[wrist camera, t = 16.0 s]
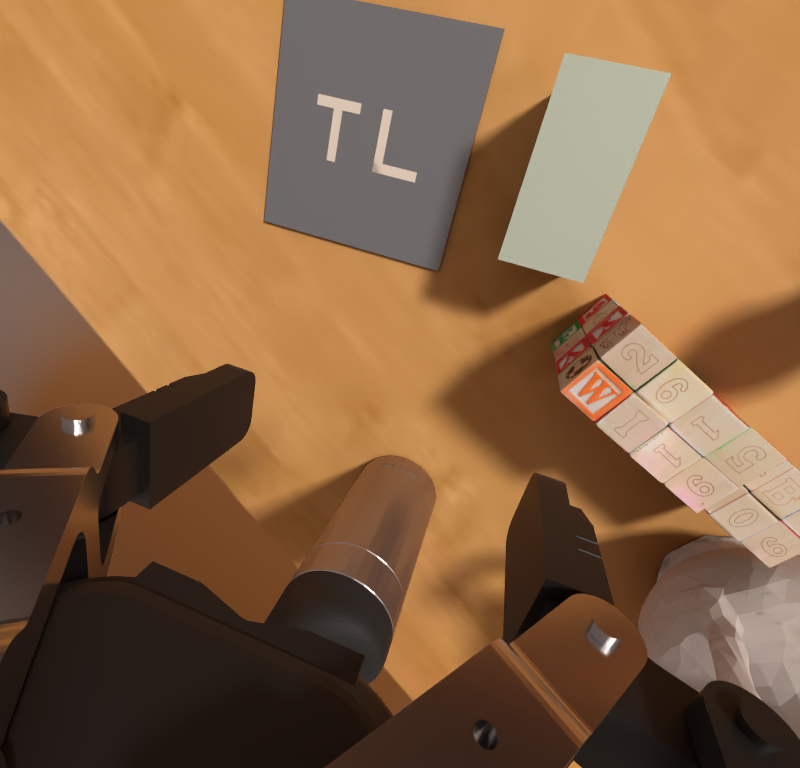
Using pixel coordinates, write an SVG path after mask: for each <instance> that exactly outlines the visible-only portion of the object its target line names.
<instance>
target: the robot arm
mask: <svg viewBox="0 0 800 768" xmlns="http://www.w3.org/2000/svg"><path fill="white" fill-rule="evenodd" d="M254 390H255V375H254V374H253V373H252V372H250V371H247V370H244V369H242V368H239V367H236V366H233V365H230V364H225V365H223V366H220V367H218V368H216V369H214V370H211V371H209V372H207V373H205V374H199V375H194V376H188V377H184V378H182V379H179V380H177V381H175V382H172V383H170V384H169V386H167V385H166V386H163V387H161V388H159V389H157V390H156V392H155V391H152V392H150V393H147V394H145V395H143V396H140V397H138V398H136V399H134V400H131V401H129V402H127V403H124V404H122V405H120V406H118V407H115V408H113V409H110V408H108V407H105V406H101V405H94V404H73V405H67V406H62V407H58V408H54V409H52V410H49V411H47V412H45V413H43V414H42V415H41V416H39V417H36V416H29V415H22V414H16V413H10V412H9V406H8V399H7V395H6V394H5V392H3V391H2V390H0V768H568V767H569V765H570V764H571V763H572V762H573V760H574V761H575V762H576V763H577V764H578V765H580V766H581V767H582V768H800V739H799V738H798V736H797V735H796V734H795V733H794V731H793V730H792V729H791V728H790V727H789V725H788V724H787V723H786V722H785V721H784V720H783V719H782V718H781V717H780V716H779V715H778V714H777V713H776V712H775V711H774V710H773V709H772V708H770V707H769V706H768V705H767V704H766V703H764V702H763V701H762V700H760V699H759V698H758V697H756V696H755V695H753V694H752V693H750V692H749V691H747V690H745V689H743V688H741V687H740V686H738V685H735V684H733V683H730V682H726V681H722V680H715V681H711V682H709V683H708V684H707V685H706V686H705V687H704V688H703V689H702V690H701V691H700V693H699V692H698V691H696V690H695V689H693V688H692V687H690V686H689V685H687V684H686V683H684V682H683V681H681V680H680V679H678V678H677V677H675V676H674V675H672V674H671V673H669V672H668V671H666V670H665V669H663V668H662V667H660V666H659V665H658V664H656V663H655V662H653V661H652V660H651V659H650V658H649V657H648V655H647V648H646V645H645V642H644V640H643V638H642V636H641V634H640V633H639V631H638V630H637V628H636V627H635V626H634V624H633V623H632V622H631V621H630V620H629V619H628V618H627V617H626V616H625V615H624V614H623V613H622V612H621V611H620V610H618V609H617V608H616V607H614V603H613V600H612V596H611V592H610V588H609V584H608V581H607V577H606V573H605V569H604V565H603V562H602V559H600V557H601V554H600V550H599V546H598V545H597V539H596V535H595V531H594V527H593V525H592V524H591V522H590V521H589V520H588V518H587V517H586V516H585V514H584V513H583V511H582V510H581V509H579V508H576V507H573V506H571V505H570V504H569V499H568V494H567V489H566V484H565V483H564V482H561V481H559V480H556V479H553V478H550V477H547V476H544V475H541V474H539V473H534V474H533V475H532V477H531V478H530V481H529V483H528V485H527V487H526V489H525V492H524V494H523V496H522V498H521V500H520V503H519V505H518V507H517V509H516V512H515V514H514V516H513V518H512V521H511V524H510V527H509V530H508V534H507V540H506V565H505V597H504V630H503V638H499V639H497V640H495V641H493V642H492V643H490V644H489V645H488V646H486V647H485V648H484V649H482V650H481V651H480V652H478V653H477V654H476V655H474V656H473V657H472V658H470V659H469V660H468V661H466V662H465V663H464V664H462V665H461V666H459V667H458V668H457V669H455V670H454V671H453V672H451V673H450V674H449V675H447V676H446V677H445V678H443V679H442V680H441V681H439V682H438V683H437V684H435V685H434V686H433V687H431V688H430V689H429V690H427V691H426V692H425V693H423V694H422V695H421V696H419V697H418V698H417V699H415V700H414V701H413V702H411V703H410V704H409V705H407V706H406V707H405V708H403V709H402V710H401V711H399V712H398V713H397V714H395V715H394V716H393V715H392V713H391V712H390V710H389V709H388V707H387V706H386V705H385V703H384V702H383V701H382V699H381V698H380V697H379V696H378V695H377V693H375V691H374V690H373V689H372V688H371V687H370V686H369V685H368V684H369V683H371V682H372V681H373V680H374V679H375V678H376V677H377V676H378V674H379V673H380V671H381V670H382V668H383V666H384V663H385V661H386V658H387V655H388V652H389V648H390V645H391V642H392V639H393V636H394V632H395V629H396V626H397V623H398V620H399V616H400V613H401V610H402V606H403V603H404V600H405V596H406V593H407V590H408V587H409V584H410V580H411V577H412V574H413V571H414V568H415V564H416V561H417V558H418V555H419V552H420V548H421V545H422V542H423V539H424V536H425V532H426V529H427V527H428V523H429V520H430V517H431V514H432V510H433V507H434V504H435V497H436V494H435V488H434V485H433V483H432V480H431V479H430V477H429V476H428V474H427V473H426V472H425V471H424V470H423V469H422V468H421V467H420V466H418V465H417V464H415V463H414V462H412V461H410V460H408V459H405V458H402V457H398V456H383V457H379V458H376V459H374V460H372V461H371V462H369V463H368V464H367V465H366V466H365V467H364V469H363V470H362V472H361V473H360V475H359V476H358V478H357V479H356V481H355V482H354V484H353V486H352V487H351V488H350V490H349V491H348V493H347V494H346V496H345V498H344V499H343V501H342V502H341V504H340V505H339V507H338V508H337V510H336V511H335V513H334V515H333V516H332V518H331V519H330V521H329V522H328V524H327V525H326V527H325V528H324V530H323V531H322V533H321V535H320V536H319V538H318V539H317V541H316V542H315V544H314V545H313V547H312V548H311V550H310V552H309V553H308V555H307V556H306V558H305V560H304V561H303V563H302V564H301V566H300V567H299V569H298V570H297V572H296V574H295V575H294V577H293V578H292V580H291V581H290V583H289V584H288V586H287V587H286V589H285V590H284V592H283V594H282V595H281V597H280V599H279V600H278V602H277V603H276V605H275V607H274V608H273V610H272V611H271V613H270V615H269V616H268V618H267V619H266V621H265V622H264V623H257V622H251V621H247V620H245V619H243V618H242V617H240V616H239V615H238V614H237V613H236V612H234V611H233V610H232V609H231V608H230V607H229V606H227V605H226V604H225V603H224V602H223V601H222V600H221V599H220V598H218V597H217V596H216V595H215V594H214V593H213V592H211V591H210V590H209V589H208V588H207V587H205V585H203V584H202V583H200V582H198V581H196V580H194V579H191V578H189V577H187V576H185V575H182V574H180V573H178V572H176V571H173V570H171V569H169V568H167V567H164V566H162V565H160V564H158V563H156V562H152V563H151V564H150V565H148V566H147V567H146V568H145V569H144V570H143V571H142V572H141V573H140V574H138V575H137V576H136V577H122V576H110V577H107V572H108V569H109V565H110V561H111V557H112V553H113V549H114V545H115V541H116V537H117V533H118V529H119V526H120V522H121V518H122V506H123V505H125V504H126V503H127V502H129V501H131V502H134V503H136V504H138V505H141V506H143V507H146V508H148V509H151V508H152V507H154V506H155V505H156V504H158V503H159V502H160V501H162V500H163V499H164V498H166V497H167V496H168V495H169V494H171V493H172V492H173V491H175V490H176V489H177V488H179V487H180V486H181V485H183V484H184V483H185V482H186V481H188V480H189V479H191V478H192V477H193V476H195V475H196V474H197V473H199V472H200V471H201V470H203V469H204V468H205V467H207V466H208V465H209V464H210V463H212V462H213V461H214V460H216V459H217V458H218V457H220V456H221V455H222V454H224V453H225V452H226V451H228V450H229V449H230V448H232V447H233V446H234V445H236V444H237V443H238V442H240V441H241V440H242V439H243V438H244V436H245V435H246V433H247V431H248V429H249V427H250V423H251V417H252V408H253V399H254Z"/></svg>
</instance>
